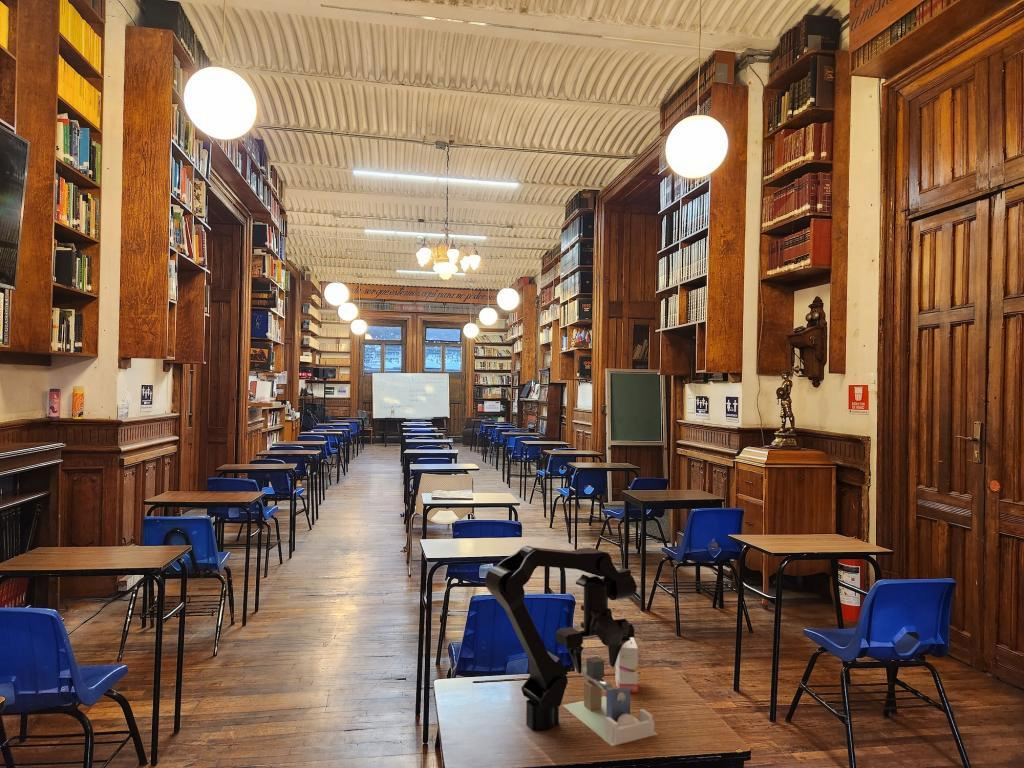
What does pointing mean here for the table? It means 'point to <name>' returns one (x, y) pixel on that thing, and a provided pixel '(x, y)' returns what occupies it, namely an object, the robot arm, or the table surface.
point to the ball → (625, 720)
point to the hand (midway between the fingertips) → (595, 669)
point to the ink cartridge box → (627, 666)
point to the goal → (630, 729)
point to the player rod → (607, 689)
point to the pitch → (593, 710)
